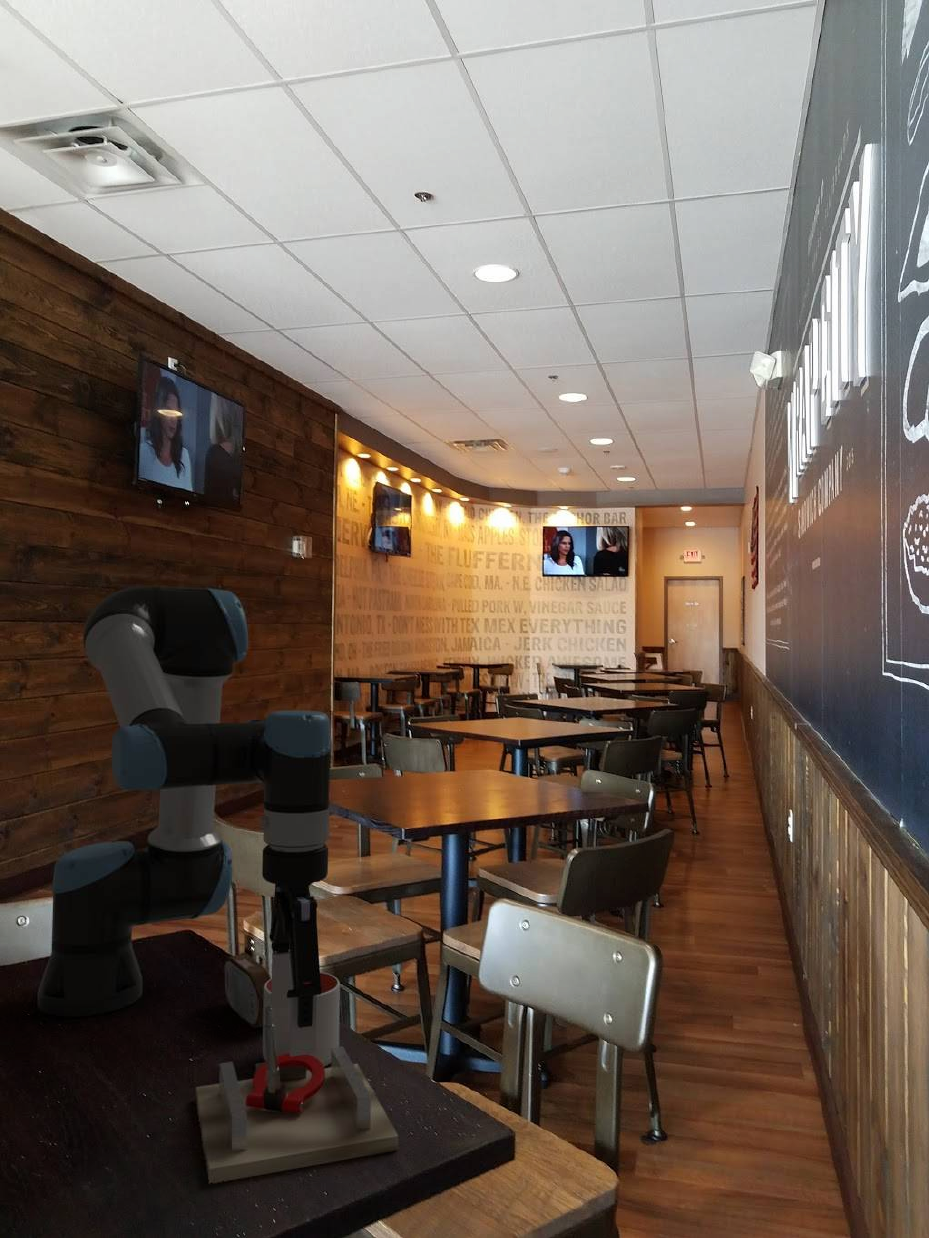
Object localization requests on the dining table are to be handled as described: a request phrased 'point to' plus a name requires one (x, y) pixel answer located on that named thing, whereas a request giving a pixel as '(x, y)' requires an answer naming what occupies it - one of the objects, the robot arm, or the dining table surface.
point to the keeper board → (290, 1132)
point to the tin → (245, 987)
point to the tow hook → (273, 1091)
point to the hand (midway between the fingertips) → (292, 1028)
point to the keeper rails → (341, 1074)
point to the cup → (324, 1020)
